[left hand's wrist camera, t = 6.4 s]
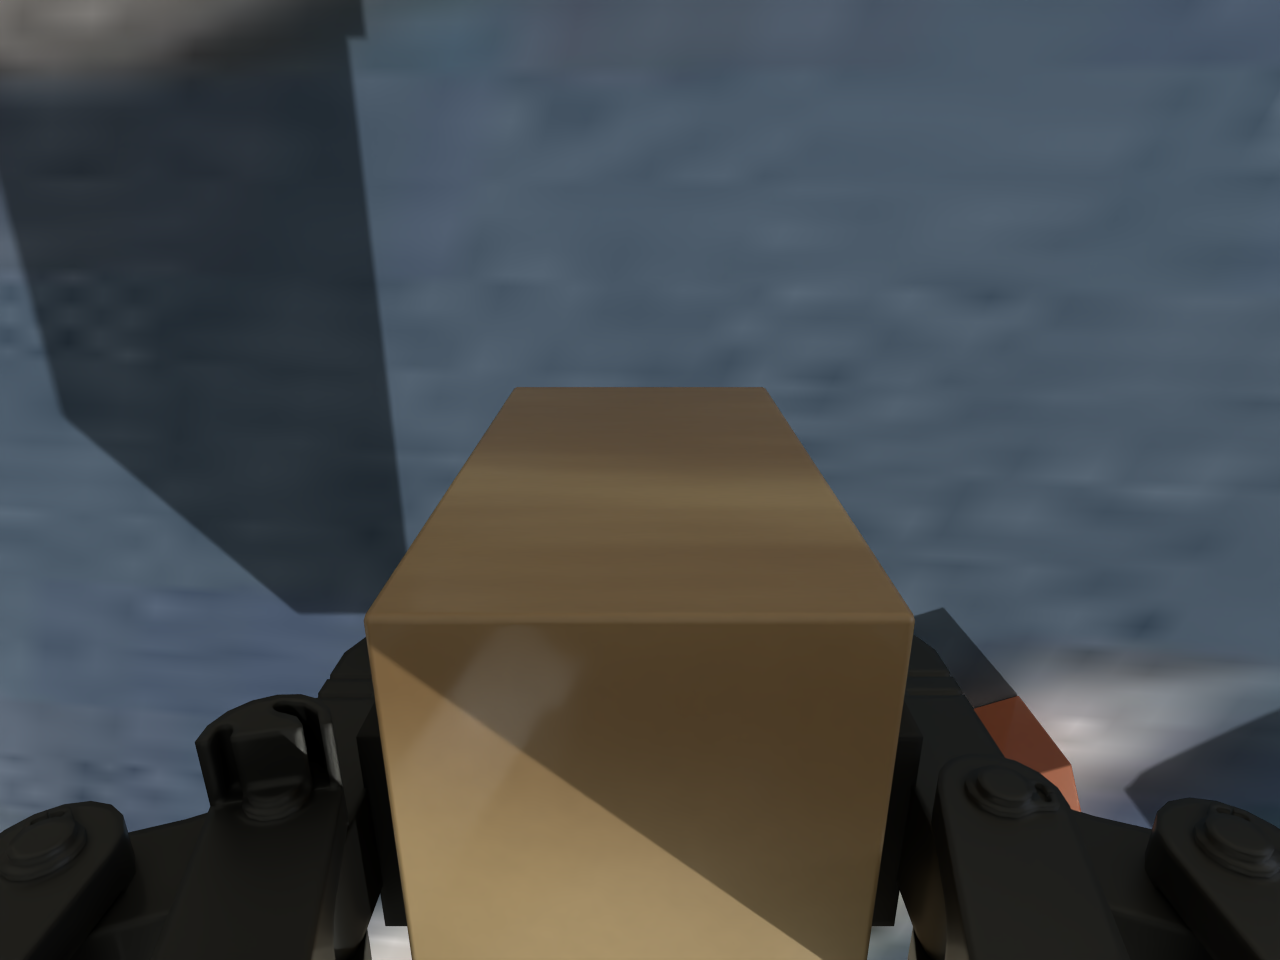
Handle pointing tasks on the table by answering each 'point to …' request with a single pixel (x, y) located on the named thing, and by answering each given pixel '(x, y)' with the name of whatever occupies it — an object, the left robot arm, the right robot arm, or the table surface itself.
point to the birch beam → (639, 690)
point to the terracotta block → (1028, 743)
